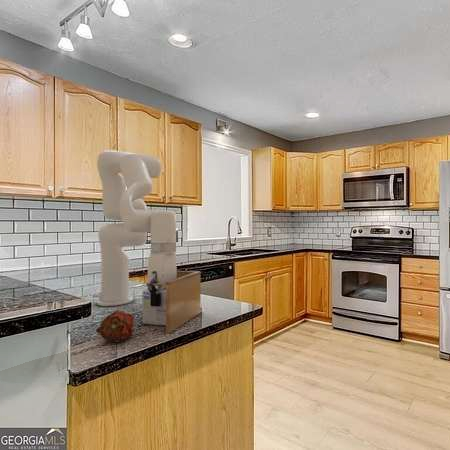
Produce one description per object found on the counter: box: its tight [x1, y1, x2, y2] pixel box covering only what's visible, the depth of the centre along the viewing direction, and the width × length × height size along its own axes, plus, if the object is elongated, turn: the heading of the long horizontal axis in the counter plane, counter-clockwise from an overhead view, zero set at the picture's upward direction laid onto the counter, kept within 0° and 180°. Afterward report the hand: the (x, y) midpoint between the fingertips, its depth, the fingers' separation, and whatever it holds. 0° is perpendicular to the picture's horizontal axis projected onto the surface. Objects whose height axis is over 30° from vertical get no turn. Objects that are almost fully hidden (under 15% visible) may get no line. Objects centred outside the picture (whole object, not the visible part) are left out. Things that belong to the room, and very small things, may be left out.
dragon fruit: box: [95, 309, 135, 343], centre depth 89 cm, size 8×8×12 cm
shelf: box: [161, 270, 202, 334], centre depth 105 cm, size 14×21×15 cm
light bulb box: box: [142, 286, 166, 326], centre depth 104 cm, size 11×7×11 cm, turn 79°
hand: (163, 302), depth 104 cm, fingers open, 8 cm apart
